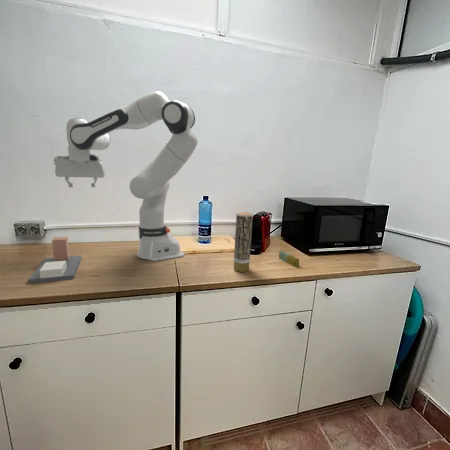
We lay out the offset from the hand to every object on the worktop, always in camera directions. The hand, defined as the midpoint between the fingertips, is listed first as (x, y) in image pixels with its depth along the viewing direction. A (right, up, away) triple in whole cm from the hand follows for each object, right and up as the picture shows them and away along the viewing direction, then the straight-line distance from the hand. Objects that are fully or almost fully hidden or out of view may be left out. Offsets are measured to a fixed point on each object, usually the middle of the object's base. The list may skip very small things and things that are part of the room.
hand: (82, 187), depth 124 cm
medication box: (+98, -36, +3) cm, 104 cm away
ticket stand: (-1, -36, -16) cm, 39 cm away
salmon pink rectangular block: (-4, -32, -9) cm, 34 cm away
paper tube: (+74, -38, -8) cm, 84 cm away
